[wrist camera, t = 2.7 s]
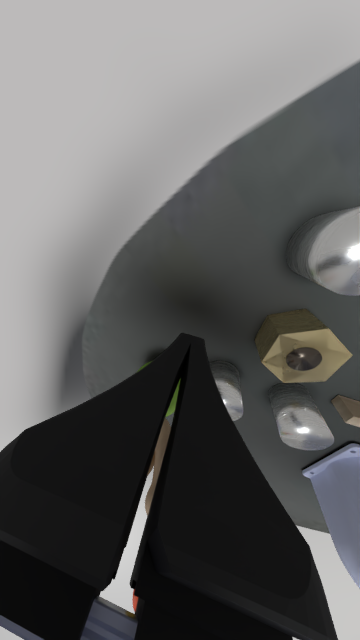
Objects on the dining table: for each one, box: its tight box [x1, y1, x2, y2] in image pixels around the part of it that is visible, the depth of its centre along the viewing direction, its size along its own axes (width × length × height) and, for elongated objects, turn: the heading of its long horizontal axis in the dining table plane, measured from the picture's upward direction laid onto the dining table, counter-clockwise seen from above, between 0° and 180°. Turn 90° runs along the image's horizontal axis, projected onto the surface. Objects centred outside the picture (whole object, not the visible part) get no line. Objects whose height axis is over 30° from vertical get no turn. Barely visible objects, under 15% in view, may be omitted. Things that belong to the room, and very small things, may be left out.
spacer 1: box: [209, 361, 243, 421], centre depth 15 cm, size 4×4×4 cm
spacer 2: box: [286, 206, 360, 296], centre depth 8 cm, size 4×4×4 cm
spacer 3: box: [268, 383, 334, 451], centre depth 14 cm, size 4×4×4 cm
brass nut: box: [254, 309, 352, 383], centre depth 12 cm, size 5×4×3 cm
